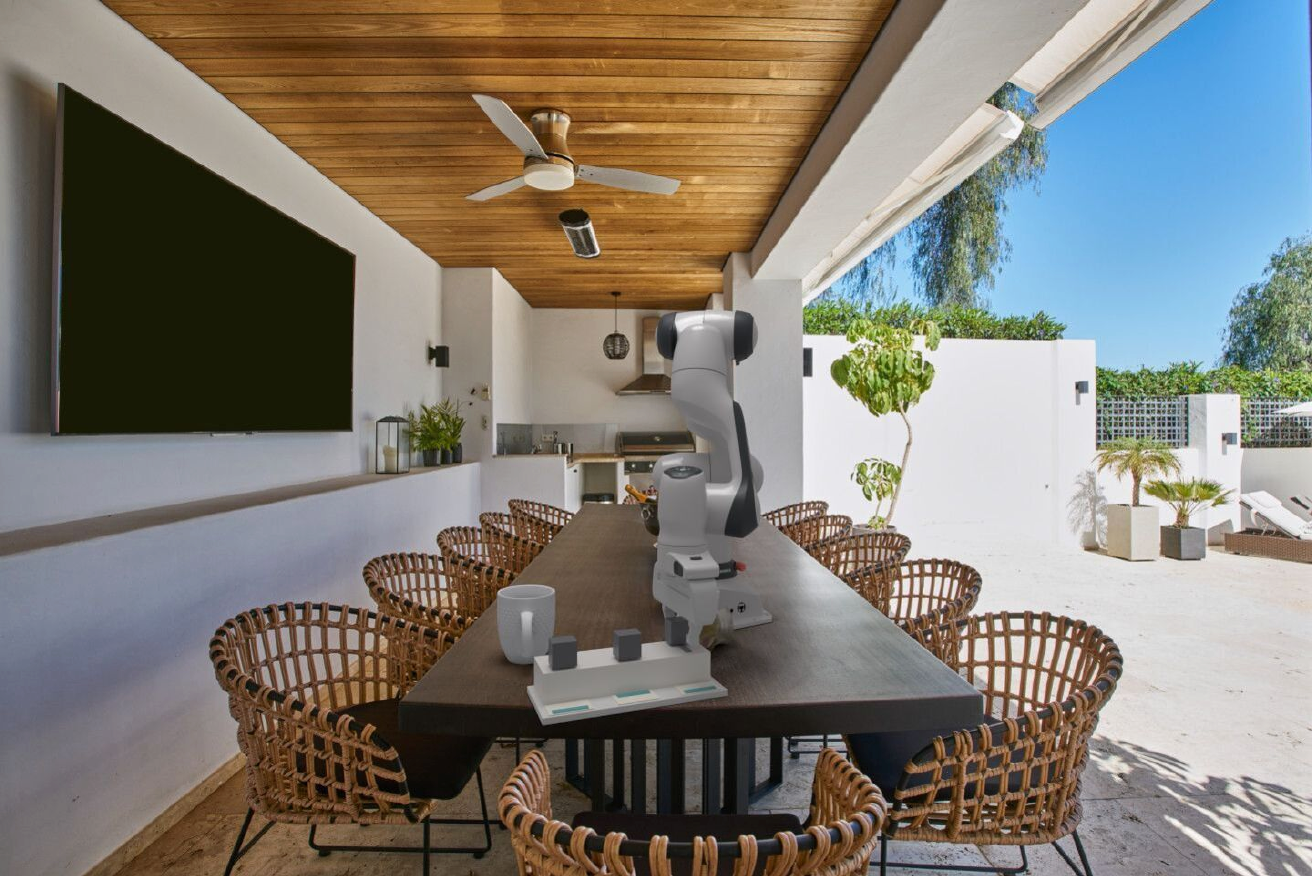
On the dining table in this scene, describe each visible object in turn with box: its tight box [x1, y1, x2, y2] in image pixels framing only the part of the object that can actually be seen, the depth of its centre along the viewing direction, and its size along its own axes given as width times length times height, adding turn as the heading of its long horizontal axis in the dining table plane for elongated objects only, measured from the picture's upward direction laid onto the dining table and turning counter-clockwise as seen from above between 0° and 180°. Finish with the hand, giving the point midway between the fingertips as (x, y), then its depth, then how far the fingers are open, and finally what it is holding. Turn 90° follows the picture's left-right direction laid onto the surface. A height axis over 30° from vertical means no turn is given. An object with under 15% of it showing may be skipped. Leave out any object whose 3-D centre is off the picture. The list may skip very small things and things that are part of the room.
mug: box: [496, 584, 556, 665], centre depth 123 cm, size 15×11×13 cm
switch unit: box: [526, 641, 729, 726], centre depth 109 cm, size 31×13×6 cm, turn 111°
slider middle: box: [612, 627, 643, 660], centre depth 109 cm, size 4×3×4 cm
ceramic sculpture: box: [661, 607, 735, 652], centre depth 132 cm, size 11×9×15 cm
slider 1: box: [547, 634, 578, 669], centre depth 105 cm, size 4×3×4 cm
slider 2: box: [664, 616, 690, 645], centre depth 116 cm, size 4×3×4 cm
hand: (681, 636), depth 115 cm, fingers open, 8 cm apart
